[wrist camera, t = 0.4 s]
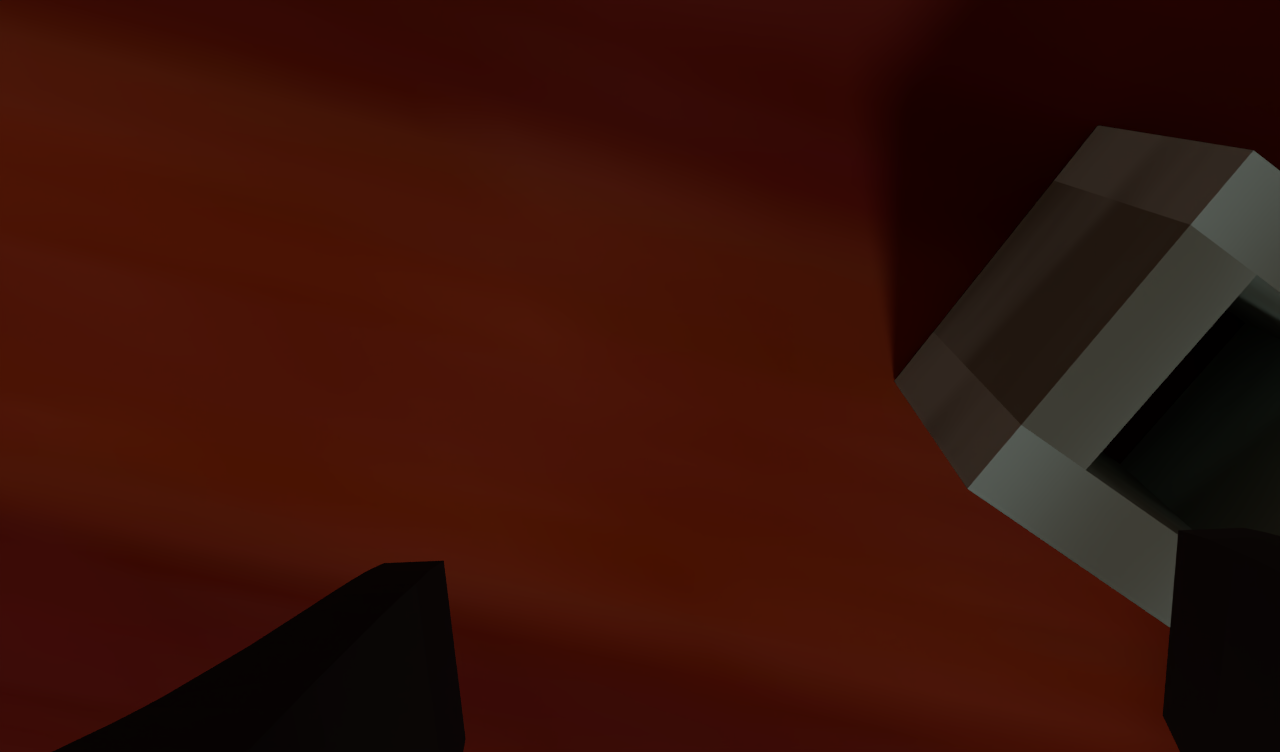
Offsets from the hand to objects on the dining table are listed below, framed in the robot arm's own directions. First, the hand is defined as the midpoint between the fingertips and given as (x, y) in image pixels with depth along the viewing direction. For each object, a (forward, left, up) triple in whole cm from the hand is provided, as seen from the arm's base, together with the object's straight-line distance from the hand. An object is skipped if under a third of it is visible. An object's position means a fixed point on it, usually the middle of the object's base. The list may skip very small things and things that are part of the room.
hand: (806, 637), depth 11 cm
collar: (-5, -4, -9) cm, 11 cm away
